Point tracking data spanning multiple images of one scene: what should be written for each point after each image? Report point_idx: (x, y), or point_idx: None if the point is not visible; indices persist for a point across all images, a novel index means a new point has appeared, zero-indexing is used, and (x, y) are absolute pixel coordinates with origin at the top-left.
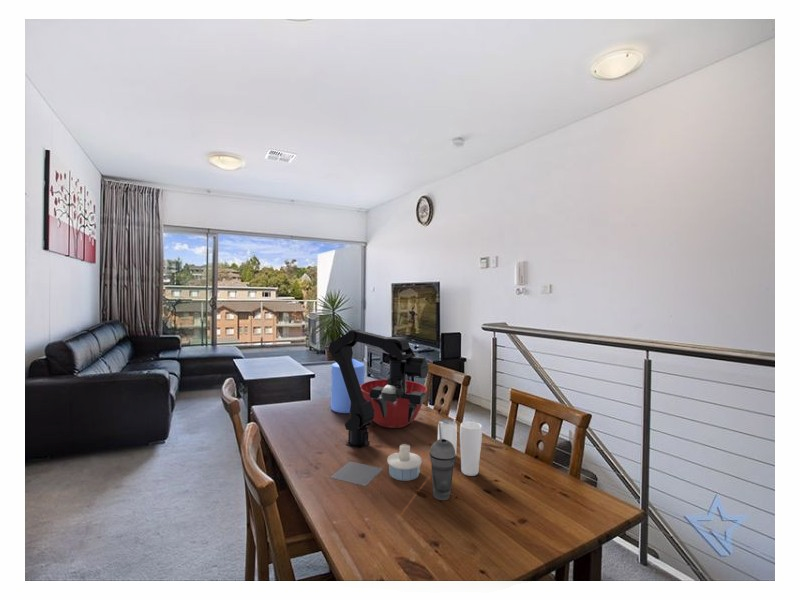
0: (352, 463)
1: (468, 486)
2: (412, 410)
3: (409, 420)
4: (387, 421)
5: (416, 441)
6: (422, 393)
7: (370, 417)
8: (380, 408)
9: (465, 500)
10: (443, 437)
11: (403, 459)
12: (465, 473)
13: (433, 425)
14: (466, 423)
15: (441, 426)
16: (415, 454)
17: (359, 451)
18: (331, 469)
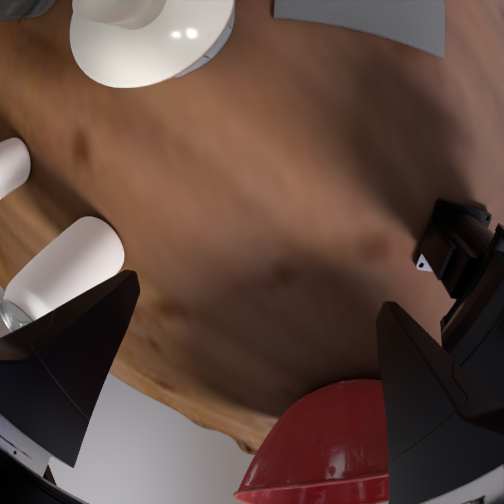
0: (427, 38)
1: (5, 86)
2: (17, 329)
3: (113, 276)
4: (363, 390)
5: (236, 323)
6: None
7: (466, 326)
8: (456, 365)
9: (6, 24)
10: (45, 258)
11: None
12: (14, 138)
13: (230, 407)
14: None
15: (29, 295)
16: (107, 82)
17: (439, 174)
18: (469, 3)
